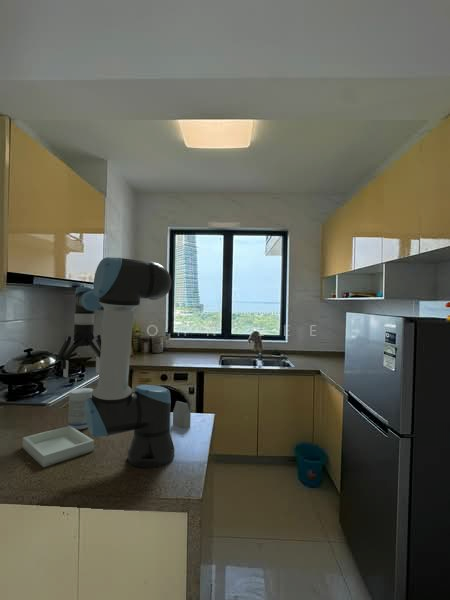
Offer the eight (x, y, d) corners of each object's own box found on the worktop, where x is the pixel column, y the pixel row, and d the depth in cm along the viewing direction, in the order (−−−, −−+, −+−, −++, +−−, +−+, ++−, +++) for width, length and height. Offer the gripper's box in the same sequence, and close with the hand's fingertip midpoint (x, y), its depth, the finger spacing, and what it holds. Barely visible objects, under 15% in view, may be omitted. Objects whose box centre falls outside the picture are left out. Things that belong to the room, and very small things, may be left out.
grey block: (184, 429, 130) (184, 405, 130) (172, 425, 134) (173, 402, 134) (190, 427, 133) (190, 403, 133) (178, 423, 137) (179, 400, 137)
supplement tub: (95, 427, 130) (96, 391, 130) (69, 432, 125) (71, 394, 125) (90, 420, 138) (91, 386, 139) (66, 424, 133) (67, 389, 133)
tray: (93, 450, 109) (94, 440, 109) (43, 467, 97) (43, 455, 97) (69, 434, 122) (69, 425, 122) (22, 447, 110) (22, 437, 110)
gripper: (107, 322, 145) (106, 369, 144) (48, 324, 126) (46, 377, 125) (116, 323, 140) (114, 371, 139) (56, 325, 121) (54, 380, 120)
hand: (82, 374), depth 132 cm, fingers open, 13 cm apart
